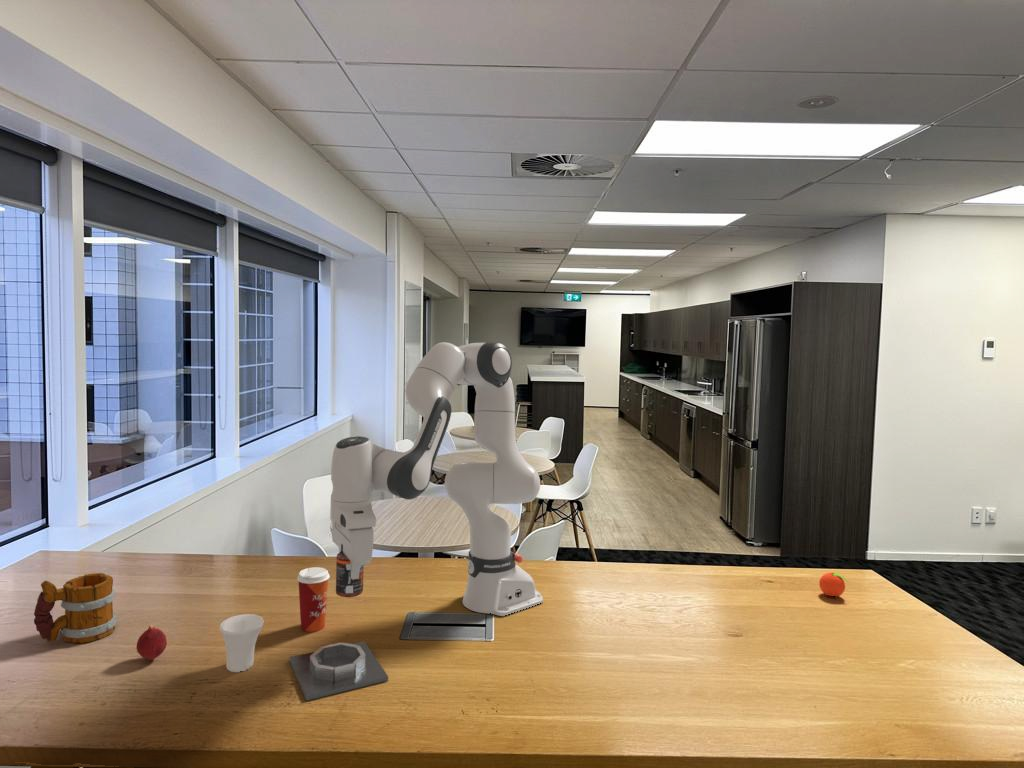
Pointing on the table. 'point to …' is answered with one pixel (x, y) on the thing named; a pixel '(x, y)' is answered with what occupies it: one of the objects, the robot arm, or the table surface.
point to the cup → (240, 640)
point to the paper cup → (313, 598)
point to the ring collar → (336, 669)
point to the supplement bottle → (347, 577)
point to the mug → (77, 609)
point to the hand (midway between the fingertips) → (349, 572)
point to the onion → (151, 643)
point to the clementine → (832, 584)
